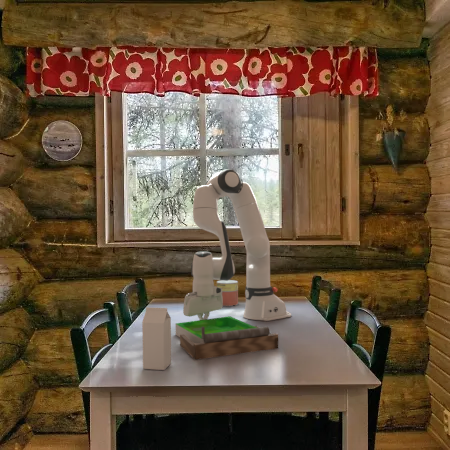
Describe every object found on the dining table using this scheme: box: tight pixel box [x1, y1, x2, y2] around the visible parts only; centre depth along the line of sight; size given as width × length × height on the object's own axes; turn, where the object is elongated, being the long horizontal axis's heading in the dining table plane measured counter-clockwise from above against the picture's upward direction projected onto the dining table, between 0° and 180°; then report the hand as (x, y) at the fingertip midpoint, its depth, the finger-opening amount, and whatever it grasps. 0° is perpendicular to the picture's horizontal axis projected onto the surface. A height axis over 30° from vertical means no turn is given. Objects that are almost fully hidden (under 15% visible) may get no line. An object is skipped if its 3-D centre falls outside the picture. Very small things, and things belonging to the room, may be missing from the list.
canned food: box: [216, 279, 239, 307], centre depth 245 cm, size 11×11×12 cm
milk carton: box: [141, 306, 172, 371], centre depth 148 cm, size 7×7×19 cm
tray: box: [175, 316, 257, 343], centre depth 181 cm, size 25×25×5 cm
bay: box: [179, 325, 279, 361], centre depth 168 cm, size 32×18×10 cm, turn 112°
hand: (203, 323), depth 193 cm, fingers closed
